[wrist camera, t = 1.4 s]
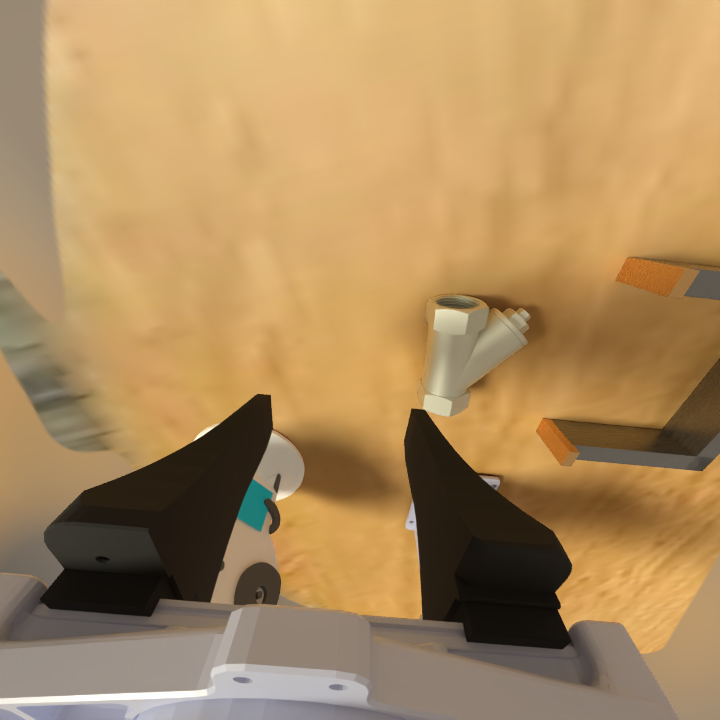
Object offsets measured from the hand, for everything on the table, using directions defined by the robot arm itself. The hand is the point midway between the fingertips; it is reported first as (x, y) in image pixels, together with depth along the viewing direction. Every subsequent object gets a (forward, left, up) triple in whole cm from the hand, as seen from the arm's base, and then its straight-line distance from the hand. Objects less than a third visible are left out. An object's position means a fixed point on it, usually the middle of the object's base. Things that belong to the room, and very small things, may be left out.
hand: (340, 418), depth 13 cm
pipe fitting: (0, -9, -10) cm, 13 cm away
